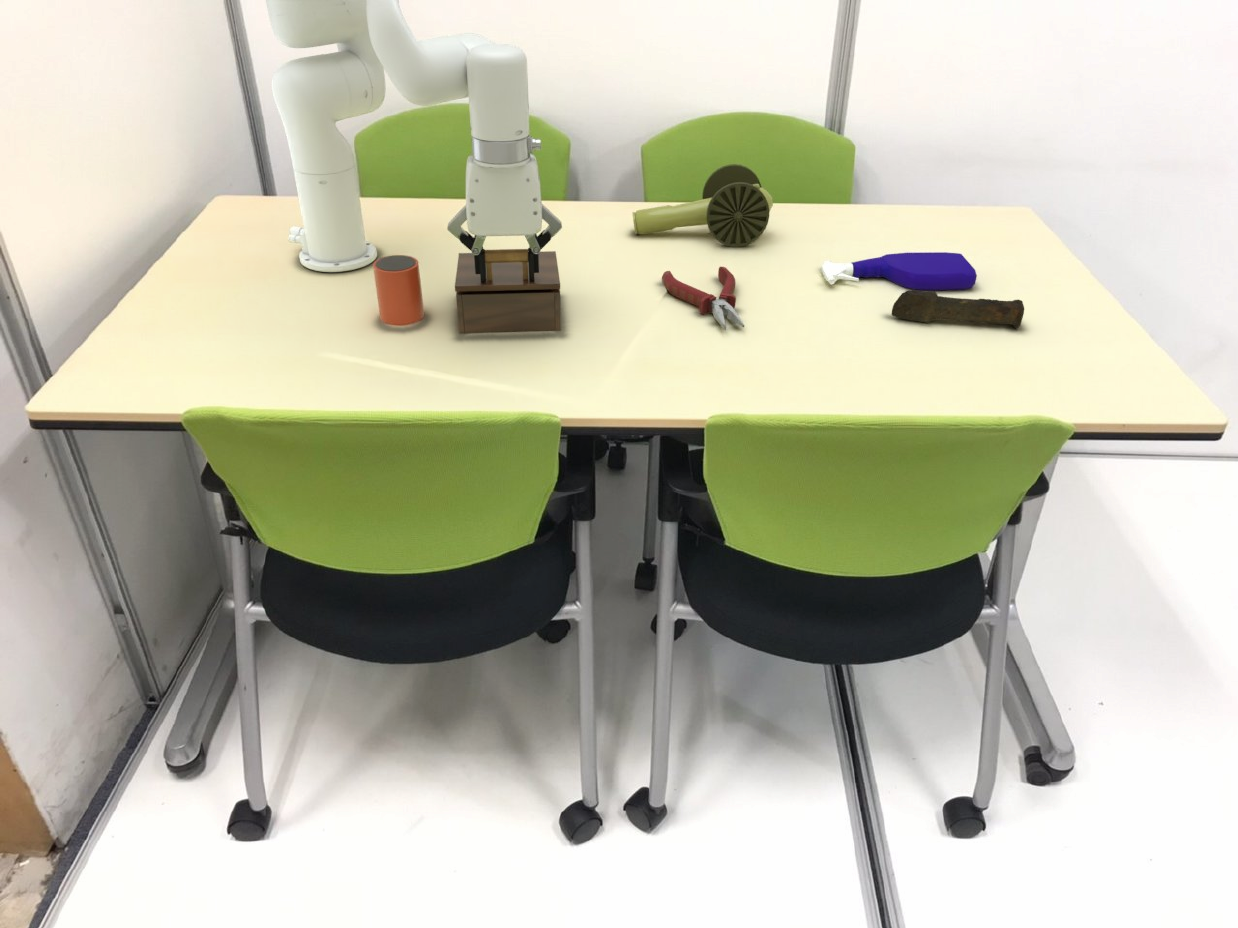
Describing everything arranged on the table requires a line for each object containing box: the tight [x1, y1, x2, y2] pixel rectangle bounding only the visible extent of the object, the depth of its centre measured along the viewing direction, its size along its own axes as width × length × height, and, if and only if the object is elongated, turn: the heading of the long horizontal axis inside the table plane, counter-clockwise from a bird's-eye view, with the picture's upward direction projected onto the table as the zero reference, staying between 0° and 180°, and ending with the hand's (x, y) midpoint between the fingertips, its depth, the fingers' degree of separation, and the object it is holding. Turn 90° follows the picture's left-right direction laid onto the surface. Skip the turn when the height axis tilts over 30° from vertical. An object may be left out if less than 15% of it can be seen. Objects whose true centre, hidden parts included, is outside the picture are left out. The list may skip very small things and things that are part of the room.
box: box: [455, 288, 562, 335], centre depth 138 cm, size 13×15×7 cm
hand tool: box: [890, 289, 1025, 329], centre depth 141 cm, size 19×4×5 cm, turn 82°
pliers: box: [661, 266, 745, 331], centre depth 144 cm, size 12×20×3 cm, turn 14°
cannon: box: [632, 163, 774, 248], centre depth 166 cm, size 25×12×11 cm, turn 90°
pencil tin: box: [372, 254, 425, 327], centre depth 136 cm, size 6×6×9 cm
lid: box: [454, 248, 561, 292], centre depth 134 cm, size 14×15×5 cm
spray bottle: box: [820, 251, 978, 291], centre depth 154 cm, size 3×11×24 cm
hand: (507, 276), depth 131 cm, fingers open, 6 cm apart
